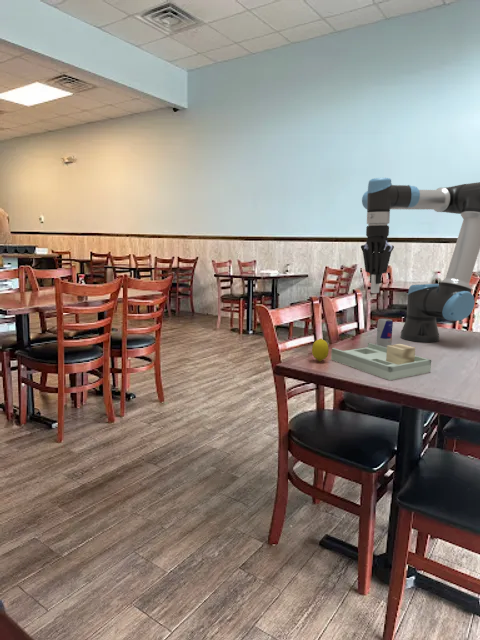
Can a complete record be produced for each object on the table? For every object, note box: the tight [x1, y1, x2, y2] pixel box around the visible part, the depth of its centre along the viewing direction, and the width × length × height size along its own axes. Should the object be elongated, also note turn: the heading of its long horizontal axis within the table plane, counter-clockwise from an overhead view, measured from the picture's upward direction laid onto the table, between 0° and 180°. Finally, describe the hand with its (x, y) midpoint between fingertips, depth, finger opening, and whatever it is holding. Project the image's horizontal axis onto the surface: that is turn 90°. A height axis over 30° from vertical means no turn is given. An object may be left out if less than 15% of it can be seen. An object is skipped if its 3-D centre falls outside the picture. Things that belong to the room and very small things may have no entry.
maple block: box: [386, 343, 416, 365], centre depth 142 cm, size 6×6×5 cm
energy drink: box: [375, 318, 394, 348], centre depth 165 cm, size 5×5×12 cm
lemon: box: [311, 338, 330, 362], centre depth 151 cm, size 6×6×8 cm
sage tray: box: [330, 342, 432, 381], centre depth 147 cm, size 18×26×4 cm
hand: (374, 292), depth 159 cm, fingers closed
